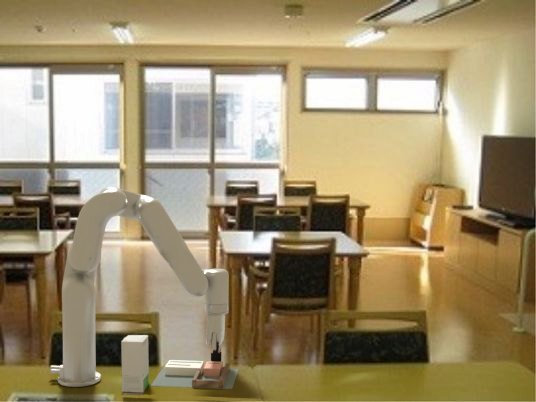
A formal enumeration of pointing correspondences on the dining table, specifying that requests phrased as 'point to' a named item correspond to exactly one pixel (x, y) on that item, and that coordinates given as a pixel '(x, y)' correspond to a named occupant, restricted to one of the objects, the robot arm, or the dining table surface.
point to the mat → (187, 380)
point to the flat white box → (183, 367)
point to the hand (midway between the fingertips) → (216, 364)
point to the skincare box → (135, 364)
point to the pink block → (213, 369)
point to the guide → (211, 383)
